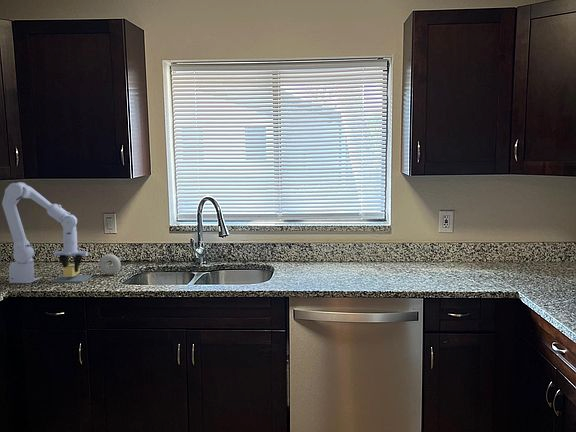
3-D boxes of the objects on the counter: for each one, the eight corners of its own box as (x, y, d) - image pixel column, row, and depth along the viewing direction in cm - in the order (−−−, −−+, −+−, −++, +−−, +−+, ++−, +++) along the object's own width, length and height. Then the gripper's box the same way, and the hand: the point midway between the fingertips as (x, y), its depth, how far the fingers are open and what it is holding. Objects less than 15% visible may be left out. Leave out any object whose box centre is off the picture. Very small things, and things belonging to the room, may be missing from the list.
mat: (50, 282, 226) (50, 280, 226) (62, 276, 238) (62, 274, 238) (82, 282, 226) (82, 281, 226) (92, 276, 238) (92, 275, 238)
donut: (98, 275, 240) (97, 254, 239) (100, 274, 244) (100, 253, 243) (119, 275, 241) (119, 254, 240) (122, 274, 244) (121, 253, 243)
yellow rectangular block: (70, 272, 236) (70, 264, 236) (79, 272, 236) (79, 264, 236) (63, 276, 228) (63, 267, 228) (72, 276, 228) (72, 267, 228)
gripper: (50, 243, 226) (51, 273, 228) (83, 243, 226) (84, 273, 228) (57, 240, 233) (58, 270, 235) (89, 240, 233) (90, 270, 235)
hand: (71, 271), depth 232 cm, fingers closed on yellow rectangular block, 4 cm apart
